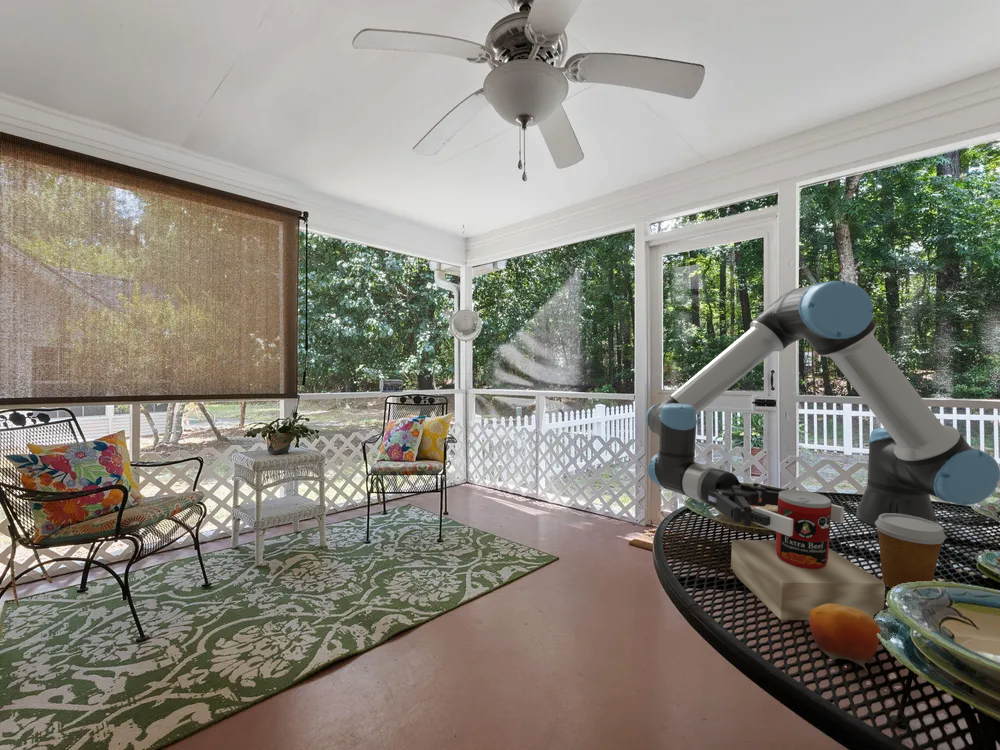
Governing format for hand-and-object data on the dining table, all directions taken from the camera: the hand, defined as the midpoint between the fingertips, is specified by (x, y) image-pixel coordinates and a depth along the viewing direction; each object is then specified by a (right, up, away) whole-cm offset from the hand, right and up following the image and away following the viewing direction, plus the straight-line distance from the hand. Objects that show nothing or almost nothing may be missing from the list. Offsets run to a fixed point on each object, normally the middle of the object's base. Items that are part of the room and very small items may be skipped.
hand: (818, 521), depth 79 cm
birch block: (-1, -13, +3) cm, 14 cm away
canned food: (-1, -8, +3) cm, 8 cm away
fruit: (-5, -15, -13) cm, 20 cm away
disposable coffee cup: (+19, -14, +5) cm, 24 cm away
